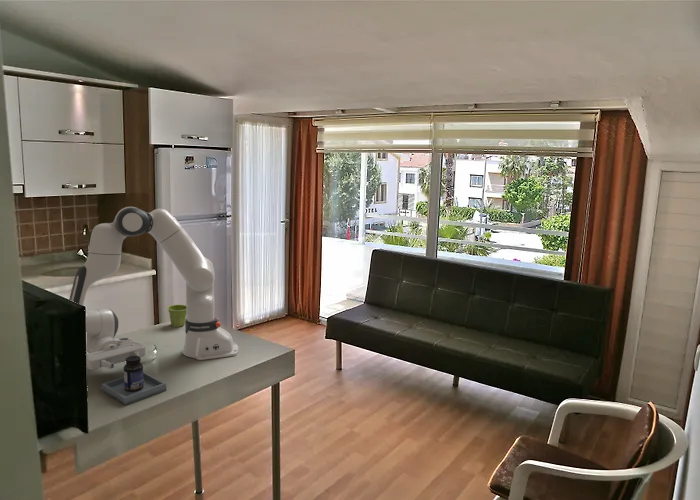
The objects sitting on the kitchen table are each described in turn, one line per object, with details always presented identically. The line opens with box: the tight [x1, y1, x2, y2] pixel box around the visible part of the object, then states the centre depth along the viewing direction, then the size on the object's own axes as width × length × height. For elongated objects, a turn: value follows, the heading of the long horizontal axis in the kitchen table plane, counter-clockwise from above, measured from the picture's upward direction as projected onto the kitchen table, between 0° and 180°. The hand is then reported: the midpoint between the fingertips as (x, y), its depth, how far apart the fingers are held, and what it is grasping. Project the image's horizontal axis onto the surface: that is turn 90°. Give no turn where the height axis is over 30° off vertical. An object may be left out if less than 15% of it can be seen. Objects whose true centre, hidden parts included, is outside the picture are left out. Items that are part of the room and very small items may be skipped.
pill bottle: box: [123, 356, 144, 392], centre depth 174 cm, size 6×6×11 cm
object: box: [167, 304, 186, 328], centre depth 241 cm, size 9×9×9 cm
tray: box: [101, 370, 167, 406], centre depth 175 cm, size 15×15×2 cm
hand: (125, 362), depth 178 cm, fingers open, 8 cm apart
